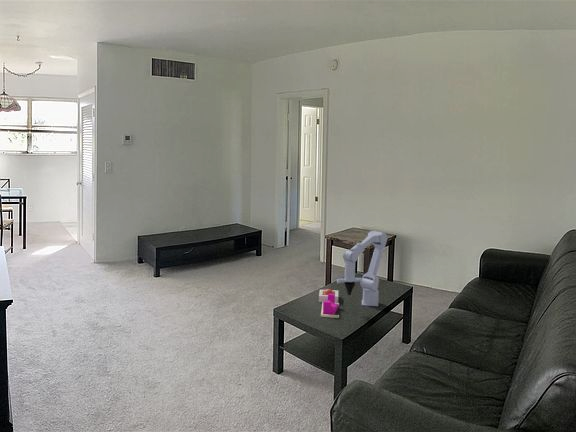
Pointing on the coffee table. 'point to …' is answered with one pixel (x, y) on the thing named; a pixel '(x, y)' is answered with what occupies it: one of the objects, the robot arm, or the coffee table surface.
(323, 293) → the dome
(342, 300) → the coffee table surface
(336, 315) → the frame
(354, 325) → the coffee table surface
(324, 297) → the dome housing
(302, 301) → the coffee table surface
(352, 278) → the robot arm
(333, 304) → the toy block
